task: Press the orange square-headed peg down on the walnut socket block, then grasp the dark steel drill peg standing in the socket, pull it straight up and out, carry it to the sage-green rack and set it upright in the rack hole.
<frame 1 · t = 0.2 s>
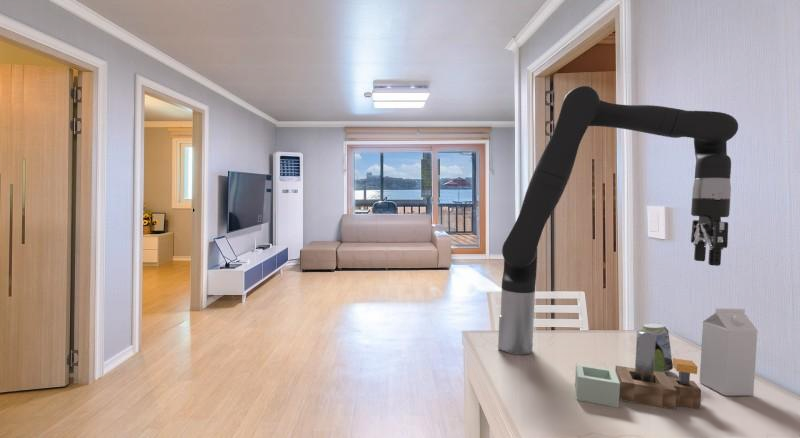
hand: (706, 263, 102), 29 cm above the table, tool pointing down, fingers open, 8 cm apart
socket block: (642, 394, 92), on the table
rack: (595, 395, 91), on the table
beverage can: (655, 371, 107), on the table
orange square-headed peg: (684, 375, 89), point 6 cm above the table, slide at 0.0 cm
milk carton: (725, 390, 96), on the table
drill peg: (644, 363, 92), in the socket block
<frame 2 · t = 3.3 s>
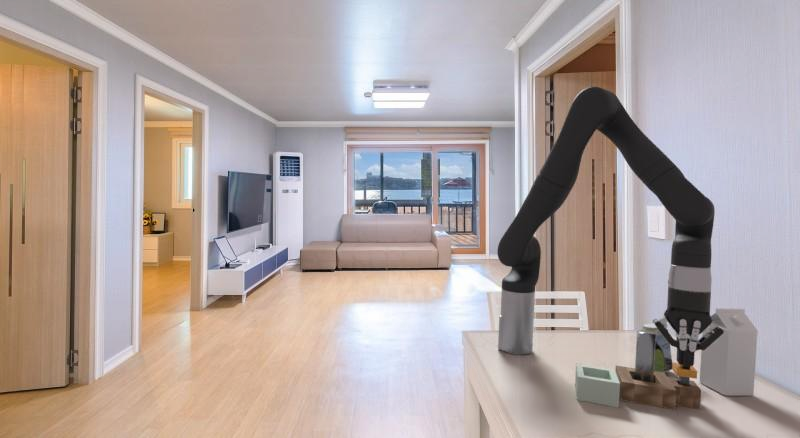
hand: (684, 366, 89), 8 cm above the table, tool pointing down, fingers closed
orange square-headed peg: (683, 379, 89), point 5 cm above the table, slide at 1.0 cm, touching gripper
everything else where it was.
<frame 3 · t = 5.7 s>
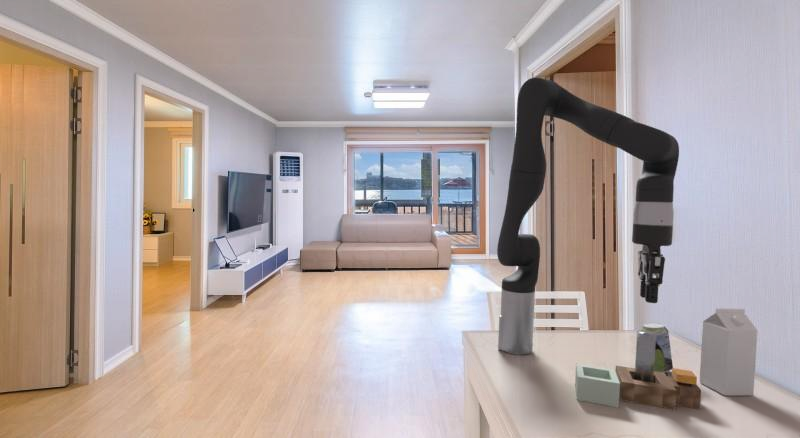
hand: (648, 299, 91), 21 cm above the table, tool pointing down, fingers open, 5 cm apart
orange square-headed peg: (683, 385, 89), point 4 cm above the table, slide at 2.2 cm
everything else where it was.
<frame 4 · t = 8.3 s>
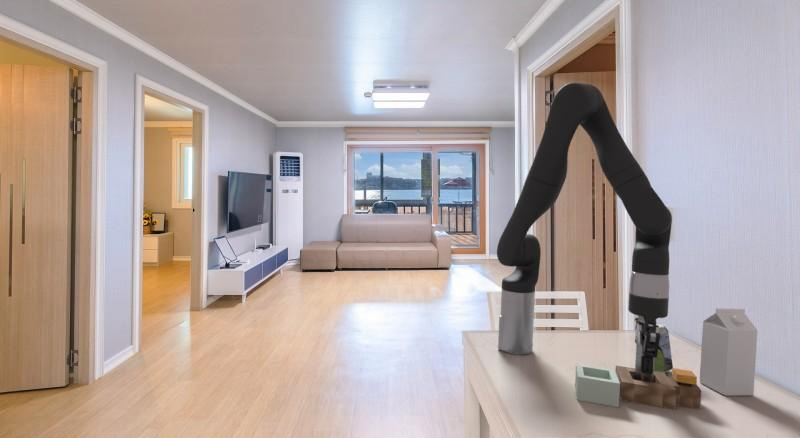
hand: (644, 369, 92), 6 cm above the table, tool pointing down, fingers closed on drill peg, 3 cm apart
drill peg: (644, 363, 92), in the socket block, touching gripper
everything else where it was.
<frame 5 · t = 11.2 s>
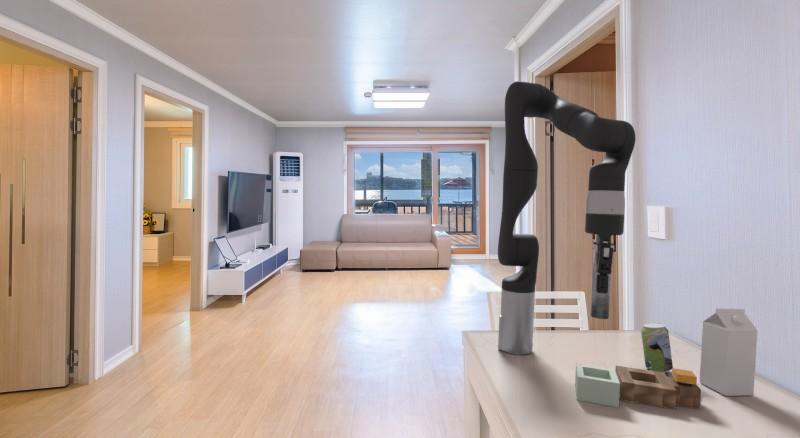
hand: (600, 290, 90), 23 cm above the table, tool pointing down, fingers closed on drill peg, 3 cm apart
drill peg: (601, 284, 90), point 24 cm above the table, touching gripper
everything else where it was.
when the fingers open (7 cm above the table, at t = 14.3 s): drill peg drops 1 cm, resting in rack.
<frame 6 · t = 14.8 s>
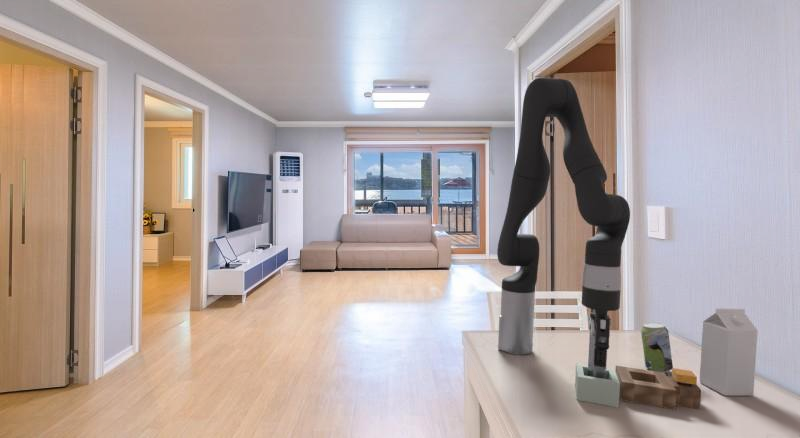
hand: (597, 359, 90), 8 cm above the table, tool pointing down, fingers open, 8 cm apart
drill peg: (597, 364, 90), in the rack
everything else where it was.
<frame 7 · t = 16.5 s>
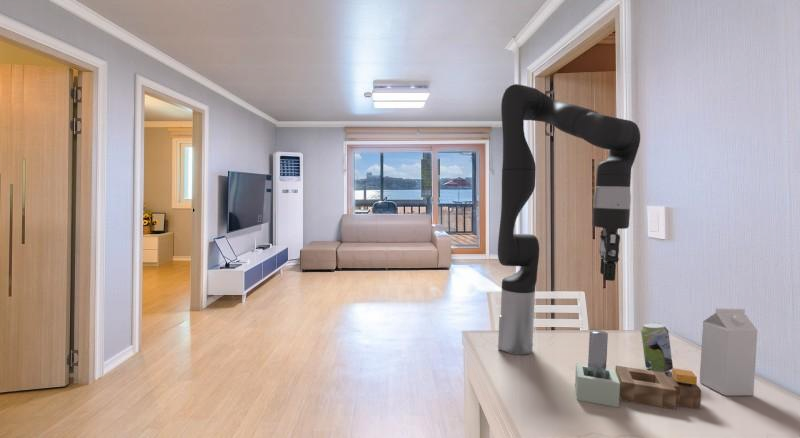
hand: (607, 277, 95), 25 cm above the table, tool pointing down, fingers open, 8 cm apart
nothing on the table moved.
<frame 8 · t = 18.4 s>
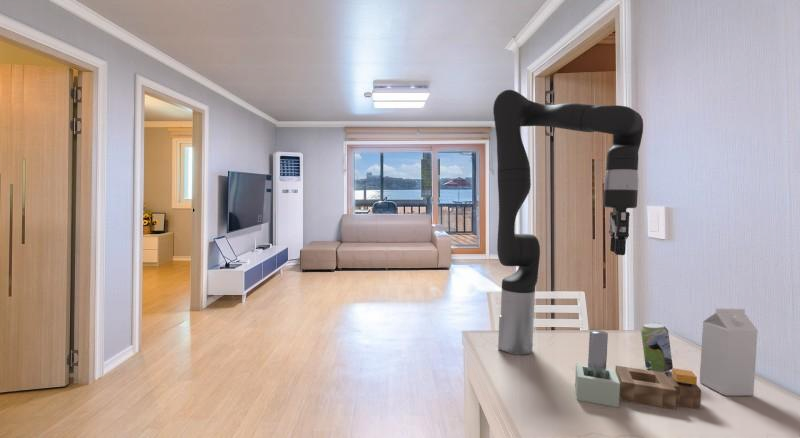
hand: (617, 253, 104), 30 cm above the table, tool pointing down, fingers open, 8 cm apart
nothing on the table moved.
at the end: orange square-headed peg slide at 2.2 cm; drill peg 0.1 cm off-centre on the rack, point 7.0 cm above the rack's base; drill peg tilted 0° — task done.
